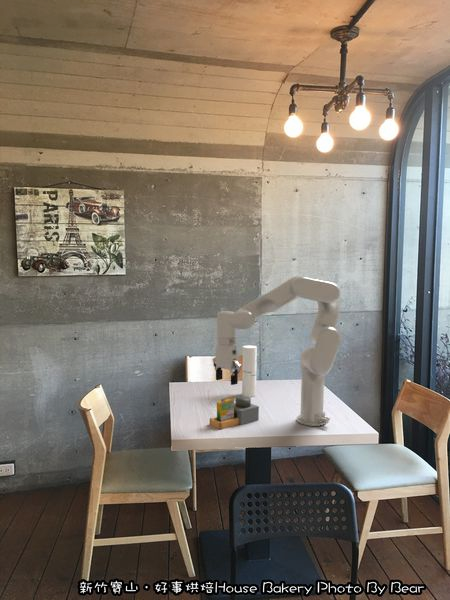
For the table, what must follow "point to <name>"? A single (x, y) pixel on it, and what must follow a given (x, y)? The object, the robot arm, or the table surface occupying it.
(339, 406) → the table surface
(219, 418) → the crayon box
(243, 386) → the cylindrical container
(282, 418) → the table surface
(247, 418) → the multicoloured piece
